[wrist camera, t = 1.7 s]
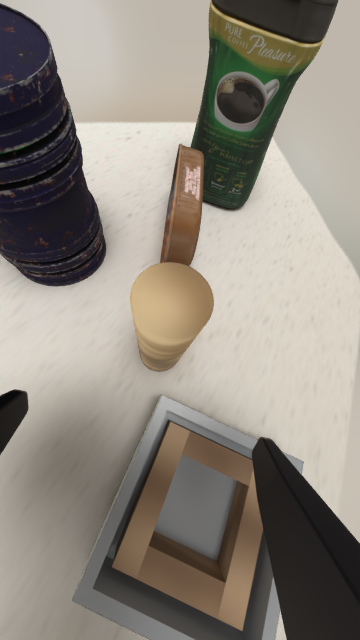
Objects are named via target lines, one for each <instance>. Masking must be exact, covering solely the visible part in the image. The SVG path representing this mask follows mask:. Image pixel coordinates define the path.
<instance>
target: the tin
mask: <svg viewBox="0 0 360 640" xmlns="http://www.w3.org/2000/svg"><path fill="white" fill-rule="evenodd" d="M203 179H204V155H203V153H202V152H201V151H198V150H196V149H192V148H189V147H186V146H183V145H182V144H179V148H178V153H177V158H176V163H175V168H174V174H173V180H172V186H171V191H170V197H169V202H168V209H167V216H166V223H165V231H164V238H163V246H162V253H161V261H160V263H167V262H172V263H180V264H183V265H186V266H190V264H191V262H192V260H193V257H194V253H195V249H196V245H197V241H198V236H199V230H200V223H201V214H202V199H203Z"/></svg>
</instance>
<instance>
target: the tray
mask: <svg viewBox="0 0 360 640" xmlns="http://www.w3.org/2000/svg"><path fill="white" fill-rule="evenodd" d="M168 420H171V421H173V422H175V423H177V424H179V425H181V426H183V427H185V428H187V429H190V430H192V431H194V432H196V433H198V434H200V435H202V436H204V437H206V438H209V439H211V440H213V441H215V442H217V443H219V444H221V445H223V446H226V447H228V448H230V449H232V450H234V451H236V452H238V453H240V454H242V455H245V456H247V457H249V458H251V459H252V450H253V448H254V446H255V445H256V443H257V441H258V440H257V439H255V438H253V437H250V436H248V435H246V434H244V433H242V432H240V431H238V430H236V429H233V428H231V427H229V426H227V425H225V424H223V423H221V422H219V421H216V420H214V419H212V418H210V417H208V416H206V415H204V414H201V413H199V412H197V411H195V410H193V409H191V408H189V407H187V406H184V405H182V404H180V403H178V402H176V401H174V400H172V399H170V398H167V397H165V396H163V395H161V396H160V397H159V399H158V401H157V404H156V406H155V408H154V410H153V413H152V415H151V417H150V419H149V422H148V424H147V426H146V428H145V431H144V433H143V435H142V437H141V440H140V442H139V444H138V446H137V449H136V451H135V453H134V455H133V458H132V460H131V462H130V465H129V467H128V469H127V471H126V474H125V476H124V478H123V480H122V483H121V485H120V487H119V489H118V492H117V494H116V496H115V498H114V501H113V503H112V505H111V507H110V510H109V512H108V514H107V516H106V519H105V521H104V523H103V526H102V528H101V530H100V532H99V535H98V537H97V539H96V541H95V544H94V546H93V548H92V550H91V553H90V555H89V557H88V560H87V562H86V565H85V568H84V570H83V573H82V575H81V578H80V581H79V583H78V586H77V589H76V591H75V594H74V596H73V599H72V601H73V602H75V603H77V604H79V605H81V606H83V607H85V608H87V609H89V610H91V611H93V612H95V613H97V614H99V615H101V616H103V617H105V618H107V619H109V620H111V621H113V622H115V623H117V624H119V625H121V626H123V627H125V628H127V629H129V630H131V631H133V632H135V633H137V634H139V635H141V636H143V637H145V638H147V639H149V640H275V638H276V632H277V626H278V619H279V613H280V605H279V601H278V596H277V591H276V586H275V582H274V577H273V572H272V568H271V563H270V558H269V554H268V549H267V544H266V539H265V535H264V530H263V532H262V537H261V542H260V547H259V551H258V556H257V561H256V566H255V571H254V576H253V581H252V586H251V591H250V596H249V600H248V605H247V610H246V615H245V620H244V625H243V630H242V631H241V630H239V629H237V628H235V627H233V626H231V625H229V624H227V623H225V622H222V621H220V620H218V619H216V618H214V617H212V616H210V615H208V614H206V613H204V612H202V611H200V610H198V609H196V608H194V607H192V606H190V605H188V604H186V603H184V602H182V601H180V600H178V599H176V598H174V597H172V596H170V595H168V594H166V593H164V592H162V591H160V590H158V589H155V588H153V587H151V586H149V585H147V584H145V583H143V582H141V581H139V580H137V579H135V578H133V577H131V576H129V575H127V574H125V573H123V572H121V571H119V570H117V569H115V568H113V567H112V564H113V560H114V555H115V551H116V546H117V544H118V541H119V539H120V536H121V534H122V532H123V529H124V527H125V524H126V522H127V519H128V517H129V514H130V512H131V510H132V507H133V505H134V502H135V500H136V497H137V495H138V492H139V490H140V488H141V485H142V483H143V480H144V478H145V475H146V473H147V471H148V468H149V466H150V463H151V461H152V458H153V456H154V453H155V451H156V449H157V446H158V444H159V441H160V439H161V436H162V434H163V431H164V429H165V427H166V424H167V422H168ZM283 453H284V452H283ZM284 455H285V456H286V457H287V458H288V459H289V460H290V462H291V463H292V464H293V465H294V466H295V468H296V469H297V470H298V471H299V472H300V473H301V475H302V470H303V463H304V461H301V460H299V459H297V458H295V457H293V456H291V455H289V454H287V453H284ZM236 485H237V480H235V479H233V478H231V477H229V476H227V475H224V474H222V473H220V472H218V471H216V470H214V469H212V468H210V467H208V466H206V465H203V464H201V463H199V462H197V461H195V460H193V459H191V458H189V457H187V456H185V455H181V457H180V460H179V463H178V466H177V468H176V471H175V474H174V477H173V479H172V482H171V485H170V488H169V490H168V493H167V496H166V499H165V501H164V504H163V507H162V510H161V512H160V515H159V518H158V521H157V523H156V526H155V529H154V531H155V532H157V533H159V534H161V535H163V536H165V537H167V538H169V539H171V540H173V541H175V542H178V543H180V544H182V545H184V546H186V547H188V548H190V549H192V550H194V551H196V552H198V553H200V554H202V555H204V556H206V557H208V558H210V559H213V560H215V561H217V558H218V555H219V551H220V547H221V543H222V539H223V535H224V531H225V528H226V524H227V520H228V516H229V512H230V508H231V505H232V501H233V497H234V493H235V489H236Z"/></svg>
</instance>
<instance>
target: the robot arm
mask: <svg viewBox="0 0 360 640" xmlns="http://www.w3.org/2000/svg"><path fill="white" fill-rule="evenodd" d="M27 411H28V395H27V392H26V391H22V390H16V389H15V390H11V391H9V392H7V393H5V394H3V395H1V396H0V455H1V453H2V452H3V450H4V449H5V447H6V445H7V444H8V442H9V441H10V439H11V437H12V436H13V434H14V433H15V431H16V429H17V428H18V426H19V425H20V423H21V422H22V420H23V418H24V417H25V415H26V414H27ZM252 461H253V469H254V478H255V486H256V494H257V501H258V506H259V511H260V516H261V521H262V525H263V530H264V535H265V539H266V544H267V549H268V554H269V558H270V563H271V568H272V572H273V577H274V582H275V586H276V591H277V596H278V601H279V605H280V610H281V615H282V619H283V624H284V629H285V633H286V638H287V640H360V543H359V542H358V541H357V540H356V538H355V537H354V536H353V535H352V534H351V533H350V531H349V530H348V529H347V528H346V527H345V525H344V524H343V523H342V522H341V521H340V520H339V518H338V517H337V516H336V515H335V514H334V512H333V511H332V510H331V509H330V508H329V507H328V505H327V504H326V503H325V502H324V501H323V499H322V498H321V497H320V496H319V495H318V494H317V492H316V491H315V490H314V489H313V488H312V486H311V485H310V484H309V483H308V482H307V481H306V479H305V478H304V477H303V476H302V475H301V473H300V472H299V471H298V470H297V469H296V468H295V466H294V465H293V464H292V463H291V462H290V460H289V459H288V458H287V457H286V456H285V455H284V453H283V452H282V451H281V450H280V449H279V447H278V446H277V445H276V444H275V443H274V442H273V440H271V439H270V438H265V437H260V438H259V439H258V441H257V443H256V445H255V446H254V448H253V450H252Z"/></svg>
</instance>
